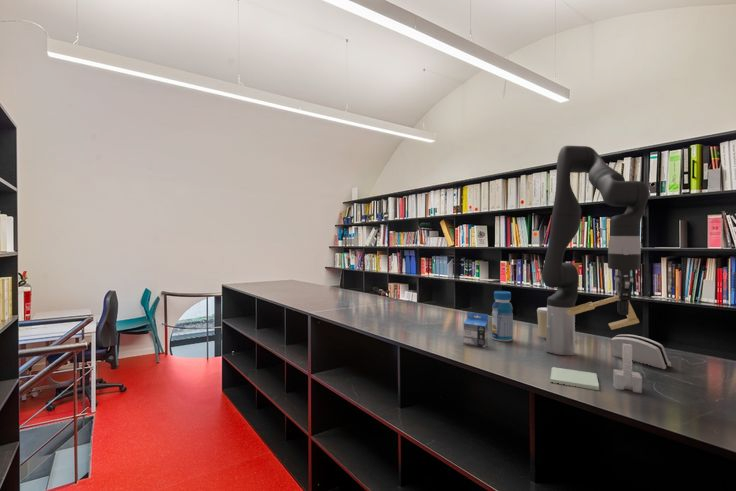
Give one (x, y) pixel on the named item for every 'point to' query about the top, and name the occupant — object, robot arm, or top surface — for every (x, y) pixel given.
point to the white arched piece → (641, 350)
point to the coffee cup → (542, 322)
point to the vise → (627, 373)
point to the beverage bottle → (502, 316)
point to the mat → (574, 378)
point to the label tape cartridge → (476, 329)
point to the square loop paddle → (614, 325)
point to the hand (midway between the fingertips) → (622, 313)
